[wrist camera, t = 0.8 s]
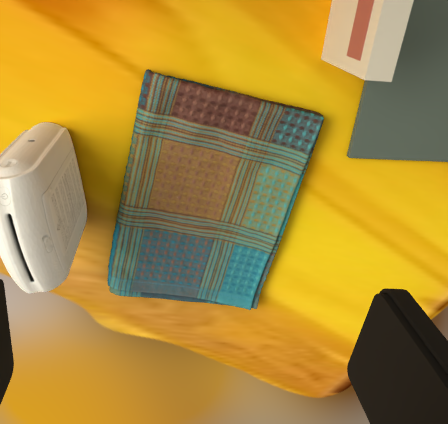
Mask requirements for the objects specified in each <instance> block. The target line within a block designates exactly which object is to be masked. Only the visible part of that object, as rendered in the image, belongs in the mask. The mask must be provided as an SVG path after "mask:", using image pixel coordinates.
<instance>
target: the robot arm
mask: <svg viewBox="0 0 448 424" xmlns="http://www.w3.org/2000/svg"><path fill="white" fill-rule="evenodd" d="M13 366H14V362H13V353H12V345H11V337H10V329H9V321H8V313H7V305H6V297H5V289H4V283H3V281H2V280H1V279H0V404H1V402H2V399H3V397H4V394H5V392H6V389H7V387H8V384H9V382H10V379H11V376H12V373H13ZM347 370H348V376H349V379H350V381H351V383H352V386H353V388H354V390H355V392H356V394H357V396H358V398H359V401H360V403H361V405H362V407H363V409H364V411H365V413H366V415H367V418H368V420H369V422H370V424H448V341H447V340H446V338H445V337H444V336H443V335H442V333H441V332H440V331H439V330H438V328H437V327H436V326H435V325H434V323H433V322H432V321H431V320H430V318H429V317H428V316H427V315H426V313H425V312H424V311H423V310H422V308H421V307H420V306H419V305H418V303H417V302H416V301H415V300H414V298H413V297H412V296H411V294H410V293H409V292H408V291H407V290H404V289H383V290H381V291H380V293H379V294H376V295H375V296H374V298H373V301H372V303H371V306H370V309H369V311H368V314H367V316H366V319H365V321H364V324H363V327H362V329H361V332H360V334H359V337H358V340H357V342H356V345H355V347H354V350H353V352H352V355H351V358H350V360H349V363H348V368H347Z"/></svg>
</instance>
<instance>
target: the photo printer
mask: <svg viewBox="0 0 448 424" xmlns="http://www.w3.org/2000/svg"><path fill="white" fill-rule="evenodd" d="M86 221H87V206H86V200H85V194H84V189H83V185H82V180H81V175H80V171H79V167H78V162H77V158H76V154H75V150H74V146H73V143H72V139H71V136H70V134H69V132H68V130H67V128H62V126H60V125H58V124H55V123H50V122H44V123H39V124H37V125H35V126H34V127H32V128H31V129H30V130H25V131H24V132H22V133H21V134H20V135H19V136H18V137H17V138H16V139H15V140H14V141H13V142H12V143H11V144H10V145H9V146H8V147H7V148H6V149H5V150H4V151H3V152H2V153H1V154H0V256H1V258H2V260H3V262H4V264H5V267H6V269H7V270H8V272H9V274H10V275H11V277H12V279H13V280H14V281H15V282H16V284H17V285H18V286H19V287H20V288H21V289H22V290H23V291H25V292H27V293H30V294H31V293H35V292H48V291H50V290H52V289H54V288H56V287H58V286H59V285H60V284H61V283H62V282H63V281H64V280H65V279H66V278H67V276H68V274H69V271H70V268H71V265H72V262H73V259H74V256H75V253H76V250H77V247H78V245H79V242H80V239H81V236H82V233H83V230H84V227H85V225H86Z"/></svg>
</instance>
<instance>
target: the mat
mask: <svg viewBox="0 0 448 424" xmlns="http://www.w3.org/2000/svg"><path fill="white" fill-rule="evenodd" d="M347 156H348V157H349V158H366V159H391V160H416V161H441V162H448V0H414V1H413V5H412V8H411V12H410V16H409V19H408V23H407V27H406V30H405V34H404V38H403V41H402V45H401V49H400V52H399V56H398V60H397V64H396V67H395V71H394V75H393V78H392V82H384V81H370V80H365V83H364V87H363V91H362V95H361V100H360V104H359V108H358V112H357V116H356V120H355V124H354V128H353V133H352V137H351V141H350V145H349V149H348V153H347Z"/></svg>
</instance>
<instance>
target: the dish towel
mask: <svg viewBox="0 0 448 424" xmlns="http://www.w3.org/2000/svg"><path fill="white" fill-rule="evenodd" d="M323 120H324V118H323V115H321V114H320V113H317V112H315V111H311V110H306V109H303V108H299V107H294V106H291V105H285V104H281V103H277V102H272V101H268V100H264V99H259V98H256V97H252V96H249V95H245V94H241V93H237V92H234V91H230V90H226V89H222V88H218V87H213V86H209V85H205V84H201V83H197V82H194V81H189V80H185V79H179V78H175V77H172V76H165V75H162V74H159V73H154V72H152V71H150V70H146V72H145V75H144V80H143V83H142V88H141V94H140V97H139V103H138V109H137V114H136V119H135V124H134V130H133V135H132V143H131V147H130V154H129V157H128V163H127V166H126V173H125V176H124V185H123V192H122V195H121V201H120V206H119V211H118V215H117V221H116V226H115V231H114V234H113V242H112V249H111V255H110V260H109V266H108V267H109V274H108V285H109V286H110V292H111V293H114V294H115V295H119V296H130V297H148V298H161V299H170V300H180V301H189V302H204V303H212V304H221V305H231V306H236V307H241V308H245V309H249V310H251V308H254V309H257V306H258V301H259V296H260V293H261V289H262V286H263V283H264V281H265V280H266V276H267V274H268V273H269V268H270V266H271V264H272V261H273V259H274V256H275V254H276V251H277V249H278V246H279V243H280V241H281V238H282V235H283V232H284V230H285V226H286V224H287V221H288V218H289V215H290V212H291V210H292V207H293V205H294V201H295V199H296V196H297V193H298V190H299V188H300V184H301V182H302V179H303V176H304V174H305V172H306V170H307V167H308V164H309V161H310V158H311V156H312V153H313V150H314V147H315V144H316V141H317V139H318V135H319V132H320V129H321V127H322V123H323Z"/></svg>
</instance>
